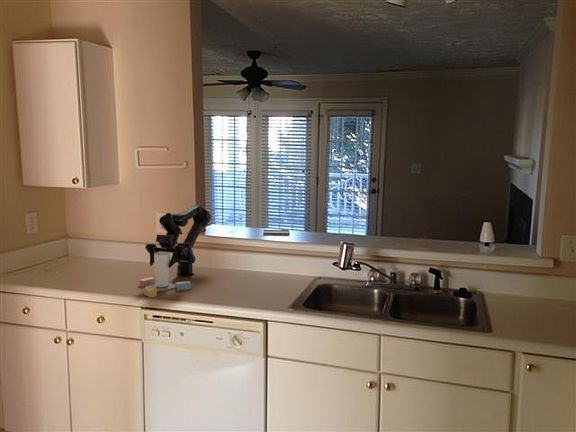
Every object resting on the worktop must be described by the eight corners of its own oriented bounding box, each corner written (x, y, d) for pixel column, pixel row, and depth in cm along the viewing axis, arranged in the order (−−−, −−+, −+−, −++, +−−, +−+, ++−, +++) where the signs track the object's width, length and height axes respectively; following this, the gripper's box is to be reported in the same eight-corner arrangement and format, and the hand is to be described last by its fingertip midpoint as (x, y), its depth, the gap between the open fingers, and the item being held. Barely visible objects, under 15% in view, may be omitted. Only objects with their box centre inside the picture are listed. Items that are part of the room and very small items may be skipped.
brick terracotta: (150, 283, 222) (150, 276, 222) (154, 284, 220) (154, 278, 220) (139, 286, 218) (139, 279, 217) (143, 287, 216) (143, 281, 215)
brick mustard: (143, 294, 206) (143, 287, 206) (150, 293, 208) (149, 286, 208) (150, 297, 202) (150, 291, 201) (156, 296, 204) (156, 289, 203)
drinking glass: (169, 288, 213) (169, 255, 210) (153, 288, 211) (153, 255, 209) (171, 283, 219) (170, 251, 217) (155, 283, 218) (154, 251, 216)
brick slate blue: (189, 287, 216) (189, 281, 216) (190, 289, 214) (190, 283, 213) (176, 289, 214) (175, 282, 214) (177, 290, 211) (177, 284, 211)
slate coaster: (166, 282, 223) (166, 281, 223) (179, 287, 215) (179, 286, 215) (144, 287, 215) (144, 285, 215) (157, 292, 208) (157, 291, 208)
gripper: (146, 226, 217) (133, 255, 209) (183, 228, 212) (171, 258, 204) (156, 239, 226) (144, 268, 217) (192, 242, 221) (181, 271, 212)
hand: (159, 266), depth 212 cm, fingers open, 9 cm apart
